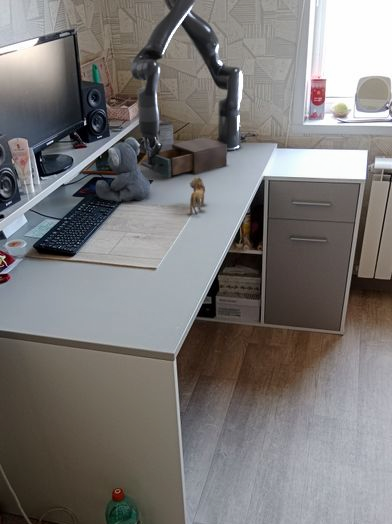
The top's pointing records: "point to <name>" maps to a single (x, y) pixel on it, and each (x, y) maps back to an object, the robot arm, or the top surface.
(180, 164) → the drawer
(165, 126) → the coffee box
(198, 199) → the lion figurine
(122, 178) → the koala plush
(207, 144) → the cabinet
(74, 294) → the top surface
